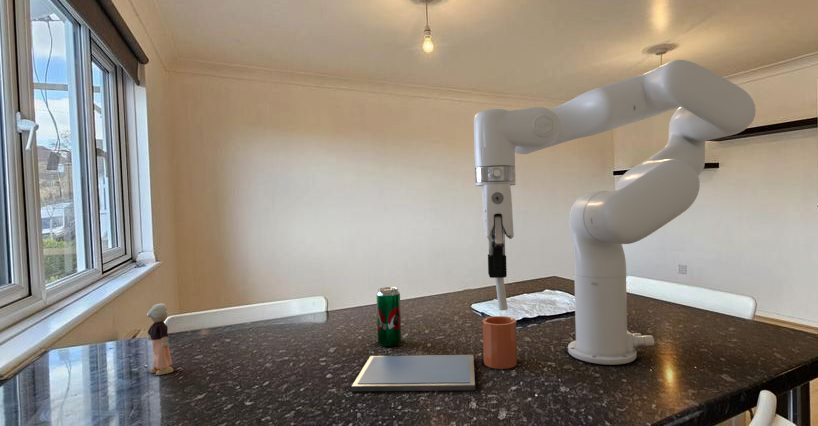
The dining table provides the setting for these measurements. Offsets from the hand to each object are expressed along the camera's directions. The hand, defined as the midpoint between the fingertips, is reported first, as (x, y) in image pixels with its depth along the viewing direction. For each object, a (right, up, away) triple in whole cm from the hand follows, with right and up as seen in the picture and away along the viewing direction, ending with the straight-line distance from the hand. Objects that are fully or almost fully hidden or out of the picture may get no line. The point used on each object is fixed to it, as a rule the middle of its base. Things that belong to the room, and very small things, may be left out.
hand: (497, 275), depth 80 cm
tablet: (-15, -17, -4) cm, 23 cm away
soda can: (-22, -17, +13) cm, 31 cm away
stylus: (+1, -6, 0) cm, 6 cm away
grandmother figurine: (-63, -18, +1) cm, 66 cm away
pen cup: (+1, -16, 0) cm, 16 cm away
